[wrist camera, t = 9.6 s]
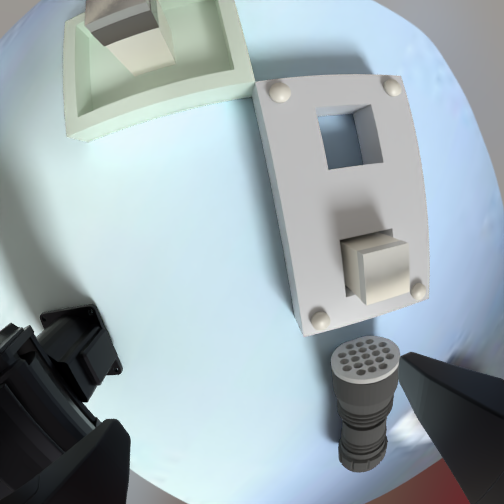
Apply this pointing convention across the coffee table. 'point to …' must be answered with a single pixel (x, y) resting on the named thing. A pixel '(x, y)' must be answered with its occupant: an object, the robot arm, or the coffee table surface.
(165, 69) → the parts tray
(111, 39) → the block
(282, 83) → the fuse block
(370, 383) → the flashlight
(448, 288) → the coffee table surface
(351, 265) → the block
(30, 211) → the coffee table surface
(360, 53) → the coffee table surface
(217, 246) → the coffee table surface
